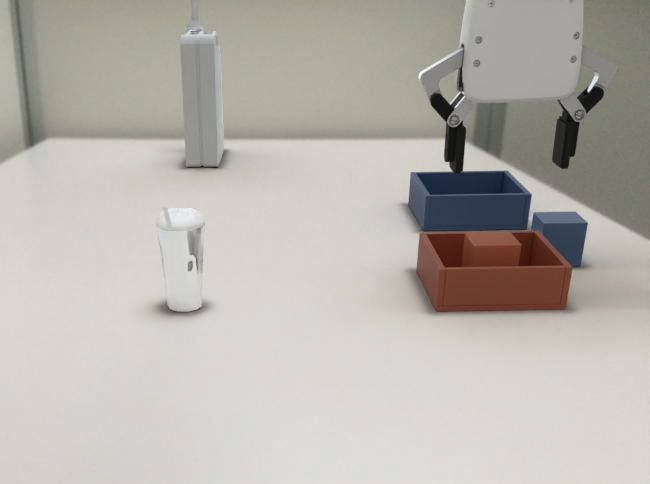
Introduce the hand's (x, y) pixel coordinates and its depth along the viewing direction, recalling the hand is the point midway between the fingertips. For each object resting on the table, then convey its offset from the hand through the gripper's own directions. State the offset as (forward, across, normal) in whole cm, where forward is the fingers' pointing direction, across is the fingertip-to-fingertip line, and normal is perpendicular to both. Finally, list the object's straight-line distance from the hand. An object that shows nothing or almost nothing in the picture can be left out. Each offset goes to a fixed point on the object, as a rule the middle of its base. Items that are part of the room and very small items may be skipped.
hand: (507, 167), depth 90 cm
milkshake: (+11, +31, +4) cm, 33 cm away
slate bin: (+12, -2, -27) cm, 29 cm away
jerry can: (+11, +31, -64) cm, 72 cm away
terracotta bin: (+11, +1, 0) cm, 11 cm away
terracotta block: (+11, +1, 0) cm, 11 cm away
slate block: (+12, -8, -9) cm, 17 cm away
